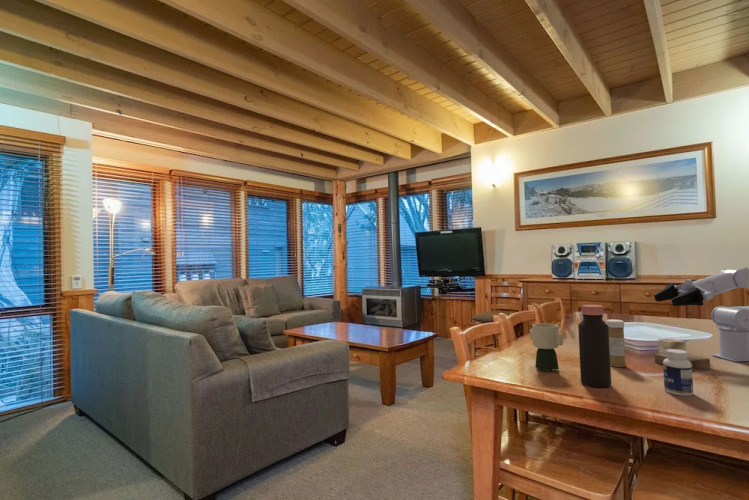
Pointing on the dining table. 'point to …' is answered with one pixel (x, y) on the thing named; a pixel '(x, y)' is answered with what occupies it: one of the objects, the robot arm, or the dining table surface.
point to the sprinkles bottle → (616, 342)
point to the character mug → (546, 345)
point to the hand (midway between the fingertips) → (663, 300)
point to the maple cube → (671, 345)
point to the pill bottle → (677, 373)
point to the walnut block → (695, 360)
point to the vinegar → (594, 348)
